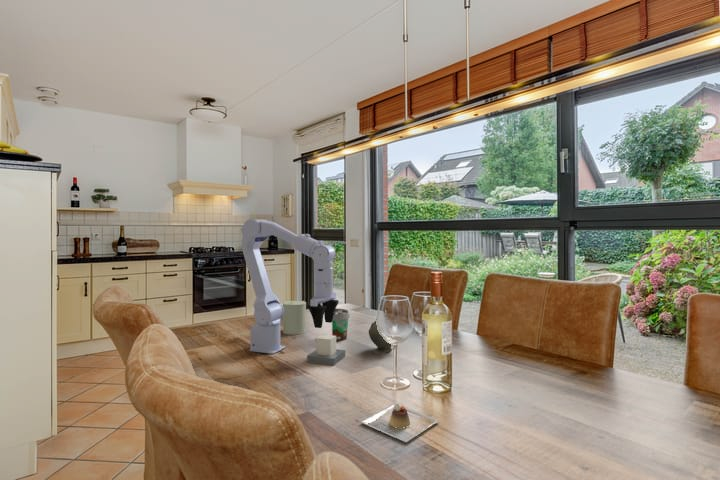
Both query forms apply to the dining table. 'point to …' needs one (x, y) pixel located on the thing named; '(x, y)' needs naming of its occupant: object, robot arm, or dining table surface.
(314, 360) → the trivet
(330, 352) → the block
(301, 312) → the can
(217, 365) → the dining table surface
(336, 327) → the food container
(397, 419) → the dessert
